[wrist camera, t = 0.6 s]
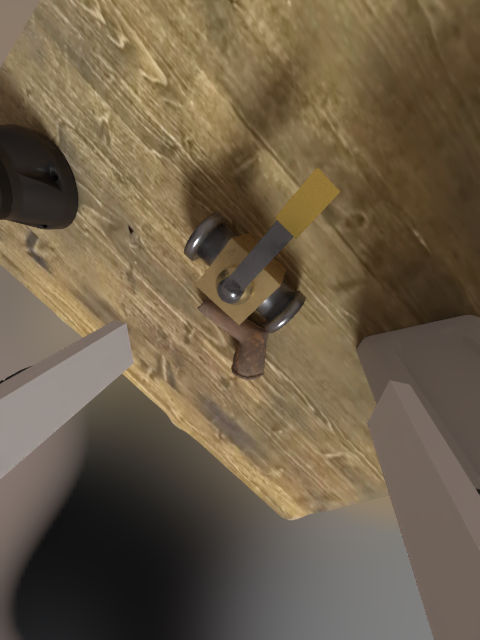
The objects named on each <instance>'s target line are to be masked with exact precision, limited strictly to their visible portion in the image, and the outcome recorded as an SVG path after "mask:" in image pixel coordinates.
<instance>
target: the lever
mask: <svg viewBox="0 0 480 640" xmlns="http://www.w3.org/2000/svg"><path fill="white" fill-rule="evenodd" d="M339 193H340V191H339V190H338V189H337V188H336V187H335V185H334V184H333V183H332V182H331V181H330V180H329V179H328V178H327V177H326V176H325V175H324V174H323V173H322V172H321V171H320V169H319V168H318V167H317V168H316V169H315V170H314V172H313V173H312V174H311V175H310V176H309V178H308V179H307V180H306V181H305V182H304V184H303V185H302V186H301V187H300V188H299V190H298V191H297V192H296V193H295V194H294V196H293V197H292V198H291V199H290V200H289V202H288V203H287V204H286V205H285V206H284V208H283V209H282V210H281V211H280V212H279V214H278V215H277V216H276V217H275V218H276V219H277V221H276V222H275V224H274V225H273V226H272V227H271V228H270V229H269V231H268V232H267V233H266V234H265V235H264V236H263V238H262V239H261V240H260V241H259V242H258V244H257V245H256V246H255V247H254V248H253V249H252V251H251V252H250V253H249V254H248V255H247V256H246V258H245V259H244V260H243V261H242V262H241V264H240V265H239V266H238V267H237V268H236V269H235V271H234V272H233V273H232V274H231V275H230V276H228V277H226V278H225V279H223V280H222V281H221V282H220V283H219V285H218V287H217V293H218V295H219V297H220V299H221V300H222V301H224V302H226V303H229V304H232V303H236V302H237V301H239V299H240V298H241V297H242V296H243V294H244V292H245V288H246V287H247V286H248V285H249V284H250V283H251V282H252V281H253V279H254V278H255V277H256V276H257V275H258V274H259V273H260V272H261V271H262V270H263V269H264V268H265V267H266V266H267V265H268V263H269V262H270V261H271V260H272V259H273V258H274V257H275V256H276V255H277V254H278V253H279V252H280V251H281V250H282V248H283V247H284V246H285V245H286V244H287V243H288V242H289V241H290V240H291V239H292V238H293V237H295V238H297V237H298V236H299V235H300V234H301V233H302V232H303V231H304V230H305V229H306V228H307V227H308V225H309V224H310V223H311V222H312V221H313V220H314V219H315V218H316V217H317V216H318V215H319V214H320V213H321V212H322V211H323V210H324V209H325V208H326V206H327V205H328V204H329V203H330V202H331V201H332V200H333V199H334V198H335V197H336V196H337V195H338V194H339Z"/></svg>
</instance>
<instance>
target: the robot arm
mask: <svg viewBox="0 0 480 640" xmlns="http://www.w3.org/2000/svg"><path fill="white" fill-rule="evenodd" d="M77 208H78V194H77V188H76V183H75V180H74V177H73V174H72V172H71V169H70V167H69V165H68V163H67V161H66V160H65V158H64V156H63V155H62V153H61V152H60V151H59V149H58V148H57V147H56V146H55V145H54V144H53V143H52V142H51V141H50V140H49V139H48V138H47V137H46V136H44V135H43V134H41V133H39V132H37V131H35V130H32V129H28V128H25V127H22V126H18V125H0V220H8V221H12V222H16V223H20V224H24V225H28V226H32V227H37V228H40V229H47V230H50V229H63V228H66V227H68V226H69V225H70V224H71V223H72V222H73V220H74V219H75V216H76V213H77ZM133 363H134V362H133V356H132V351H131V346H130V341H129V335H128V330H127V325H126V323H124V322H119V321H115V320H114V321H112V322H111V323H109V324H107V325H105V326H103V327H102V328H100V329H98V330H96V331H94V332H93V333H91V334H89V335H87V336H85V337H84V338H82V339H80V340H78V341H76V342H75V343H73V344H72V345H69V346H68V347H66V348H64V349H62V350H60V351H58V352H57V353H55V354H53V355H51V356H49V357H48V358H46V359H44V360H42V361H40V362H39V363H37V364H35V365H33V366H30V367H28V368H25V369H23V370H20V371H18V372H17V373H15V374H13V375H11V376H9V377H7V378H6V379H5V380H4V381H3V380H2V381H0V479H1V478H2V477H3V476H4V475H6V474H7V473H8V472H9V471H10V470H11V469H13V468H14V467H15V466H16V465H17V464H18V463H19V462H21V461H22V459H24V458H25V457H26V456H27V455H29V454H30V453H31V452H32V451H33V450H34V449H35V448H37V447H38V446H39V445H40V444H41V443H42V442H44V441H45V440H46V439H47V438H48V437H49V436H50V435H52V433H54V432H55V431H56V430H57V429H58V428H60V427H61V426H62V425H63V424H64V423H65V422H67V421H68V420H69V419H70V418H71V417H72V416H73V415H75V414H76V413H77V412H78V411H79V410H80V409H81V408H83V407H84V406H85V405H86V404H87V403H88V402H90V401H91V400H92V399H93V398H94V397H95V396H96V395H97V394H99V393H100V392H101V391H102V390H103V389H104V388H106V387H107V386H108V385H109V384H110V383H111V382H112V381H114V380H115V379H116V378H117V377H118V376H119V375H121V374H122V373H123V372H124V371H125V370H126V369H127V368H129V367H130V366H131V365H132V364H133ZM367 424H368V427H369V430H370V433H371V437H372V440H373V443H374V446H375V450H376V453H377V456H378V459H379V463H380V466H381V469H382V472H383V476H384V479H385V482H386V485H387V489H388V492H389V495H390V498H391V501H392V505H393V508H394V511H395V514H396V518H397V521H398V524H399V527H400V531H401V534H402V537H403V540H404V544H405V547H406V550H407V553H408V557H409V560H410V563H411V566H412V570H413V573H414V576H415V579H416V583H417V586H418V589H419V592H420V595H421V599H422V602H423V605H424V609H425V612H426V615H427V618H428V621H429V625H430V628H431V631H432V634H433V637H434V640H480V489H476V488H475V487H474V486H473V484H472V482H471V481H470V479H469V478H468V476H467V475H466V473H465V471H464V470H463V468H462V467H461V465H460V463H459V462H458V460H457V459H456V457H455V455H454V454H453V452H452V451H451V449H450V448H449V446H448V444H447V443H446V441H445V440H444V438H443V436H442V435H441V433H440V432H439V430H438V429H437V427H436V425H435V424H434V422H433V421H432V419H431V417H430V416H429V414H428V413H427V411H426V409H425V408H424V406H423V405H422V403H421V402H420V400H419V398H418V397H417V395H416V394H415V392H414V390H413V389H412V387H411V386H410V384H405V383H401V382H396V381H391V380H390V381H389V383H388V384H387V386H386V388H385V390H384V392H383V394H382V396H381V398H380V400H379V402H378V404H377V405H376V407H375V409H374V411H373V413H372V415H371V417H370V419H369V421H368V423H367Z"/></svg>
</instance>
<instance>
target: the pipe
mask: <svg viewBox="0 0 480 640" xmlns="http://www.w3.org/2000/svg"><path fill="white" fill-rule="evenodd" d="M198 310H199V311H200V312H201V313H203V314H204V315H205V316H206V317H208V318H209V319H210V320H211V321H213V322H214V323H215V324H216V325H218V326H219V327H220V328H222V329H223V330H224V331H225V332H227V333H228V334H230V335H231V336H233V337H234V338H235V339H237V340H238V341H239V345H238V347H237V349H236V352H235V354H234V358H233V365H232V367H231V369H232V372H233V373H234V374H235V375H236V376H237V377H239V378H242V379H246V380H252V379H257V378H259V377H260V376H261V375H263V372H264V367H265V356H266V341H267V337H268V333H269V332H268V331H267V330H266V329H265V328H262V327H260V326H258V325H256V324H255V323H254V322H252V321H250V320H249V319H247V318H246V319H245V320H244V321H243V322H242V323H241V324H240V325H238V324H237V323H236V322H235V321H234V320H233V319H232V318H231V317H230V316H228V315H227V314H226V313H225V312H224V311H223V310H222V309H221V308H220V307H219V306H217V305H216V304H215V303H214V302H213V301H212V300H211V299H210V298H208V299H207V300H206V301H205V302H203V303H202V304H201V306H199V307H198Z"/></svg>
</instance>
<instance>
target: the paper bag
mask: <svg viewBox="0 0 480 640" xmlns="http://www.w3.org/2000/svg"><path fill="white" fill-rule="evenodd" d="M357 354H358V357H359V359H360V362H361V365H362V367H363V370H364V372H365V375H366V378H367V380H368V383H369V386H370V388H371V391H372V393H373V396H374V399H375V401H376V404H378V402H379V400H380V398H381V396H382V394H383V392H384V390H385V388H386V386H387V384H388V383H389V381H390V380H391V381H396V382H401V383H405V384H410V386H411V387H412V389H413V390H414V392H415V394H416V395H417V397H418V398H419V400H420V402H421V403H422V405H423V406H424V408H425V409H426V411H427V413H428V414H429V416H430V417H431V419H432V421H433V422H434V424H435V425H436V427H437V429H438V430H439V432H440V433H441V435H442V436H443V438H444V440H445V441H446V443H447V444H448V446H449V448H450V449H451V451H452V452H453V454H454V455H455V457H456V459H457V460H458V462H459V463H460V465H461V467H462V468H463V470H464V471H465V473H466V475H467V476H468V478H469V479H470V481H471V482H472V484H473V486H474V487H475V488H476V489H480V317H477V316H474V315H463V316H458V317H454V318H449V319H445V320H440V321H436V322H431V323H426V324H422V325H417V326H413V327H408V328H404V329H399V330H395V331H390V332H385V333H381V334H376V335H372V336H368V337H365V338H364V339H363V340H362V341H361V343H360V344H359V346H358V348H357Z"/></svg>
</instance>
